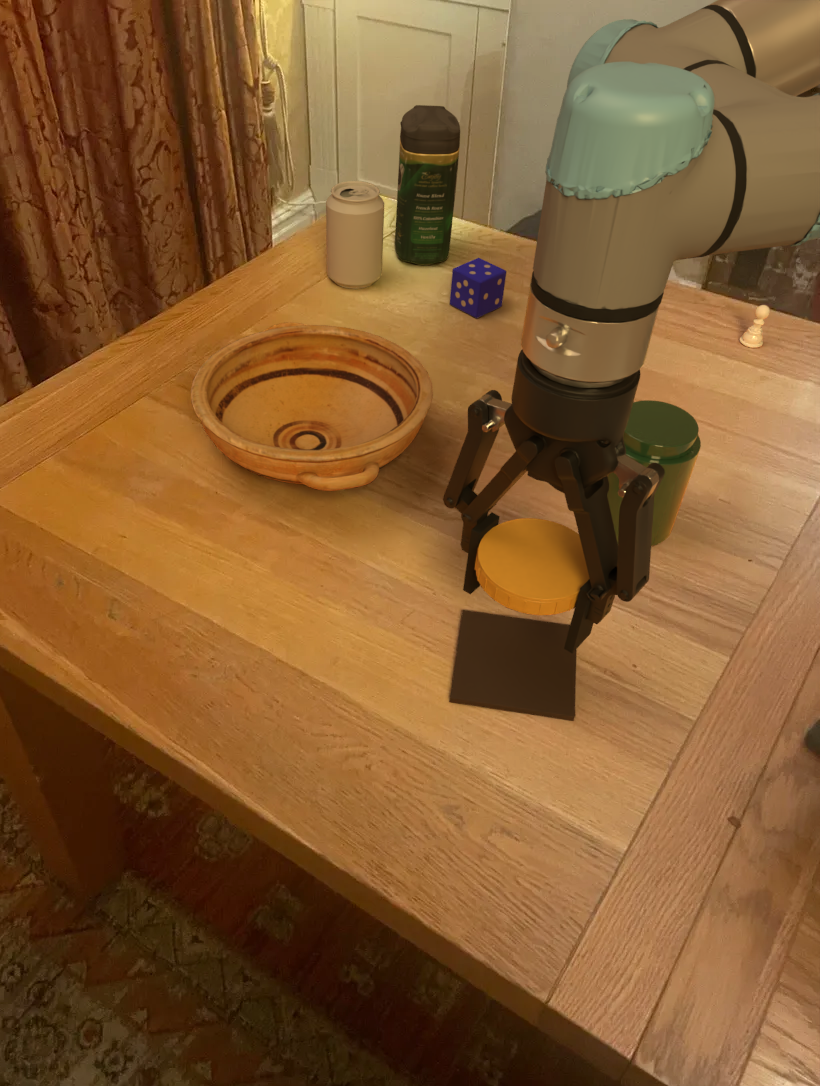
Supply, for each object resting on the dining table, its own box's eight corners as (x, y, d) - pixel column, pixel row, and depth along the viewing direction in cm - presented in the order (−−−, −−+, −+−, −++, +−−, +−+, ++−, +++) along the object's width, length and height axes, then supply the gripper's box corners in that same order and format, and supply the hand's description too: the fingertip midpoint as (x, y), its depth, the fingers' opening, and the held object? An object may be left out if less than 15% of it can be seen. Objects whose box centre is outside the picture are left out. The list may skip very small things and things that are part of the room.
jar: (669, 498, 92) (702, 402, 84) (674, 553, 86) (709, 455, 78) (586, 487, 93) (610, 391, 85) (585, 541, 87) (611, 444, 79)
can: (336, 262, 127) (336, 173, 118) (388, 270, 126) (391, 181, 117) (319, 286, 122) (317, 195, 113) (372, 295, 121) (375, 204, 112)
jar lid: (451, 577, 68) (453, 560, 67) (517, 518, 73) (520, 502, 72) (552, 635, 64) (556, 618, 63) (615, 569, 69) (620, 552, 68)
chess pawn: (734, 339, 115) (747, 302, 111) (751, 335, 116) (764, 298, 112) (749, 350, 113) (763, 313, 109) (767, 345, 114) (781, 308, 110)
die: (474, 292, 122) (478, 256, 118) (502, 306, 119) (507, 270, 116) (448, 304, 119) (452, 268, 116) (476, 319, 117) (480, 282, 113)
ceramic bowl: (183, 388, 104) (173, 324, 98) (386, 363, 109) (388, 301, 103) (221, 560, 84) (212, 493, 79) (467, 520, 89) (476, 454, 83)
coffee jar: (452, 268, 127) (465, 125, 113) (396, 267, 126) (402, 124, 113) (446, 237, 133) (458, 99, 120) (393, 237, 133) (398, 98, 120)
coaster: (575, 630, 79) (577, 625, 79) (573, 721, 72) (575, 716, 72) (461, 614, 80) (462, 609, 80) (449, 702, 73) (449, 697, 73)
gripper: (404, 320, 58) (389, 573, 74) (718, 456, 49) (622, 712, 65) (472, 279, 62) (444, 528, 78) (773, 398, 53) (671, 652, 69)
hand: (525, 611), depth 72 cm, fingers closed on jar lid, 9 cm apart
